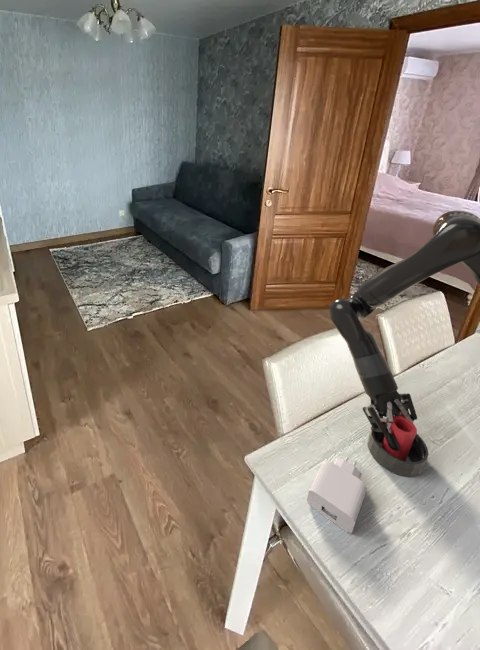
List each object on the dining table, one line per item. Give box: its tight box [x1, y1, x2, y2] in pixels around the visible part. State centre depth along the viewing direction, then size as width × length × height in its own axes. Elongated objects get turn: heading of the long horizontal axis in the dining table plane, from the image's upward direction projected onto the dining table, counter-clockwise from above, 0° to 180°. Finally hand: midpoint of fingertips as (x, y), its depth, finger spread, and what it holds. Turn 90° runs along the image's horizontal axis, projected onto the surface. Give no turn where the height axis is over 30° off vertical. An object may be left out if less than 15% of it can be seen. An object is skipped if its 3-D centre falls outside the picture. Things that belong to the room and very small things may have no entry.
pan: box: [366, 423, 430, 478], centre depth 85 cm, size 12×12×4 cm
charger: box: [306, 456, 368, 534], centre depth 76 cm, size 5×9×15 cm
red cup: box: [382, 416, 418, 461], centre depth 84 cm, size 5×5×9 cm
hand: (405, 445), depth 83 cm, fingers closed on red cup, 5 cm apart
